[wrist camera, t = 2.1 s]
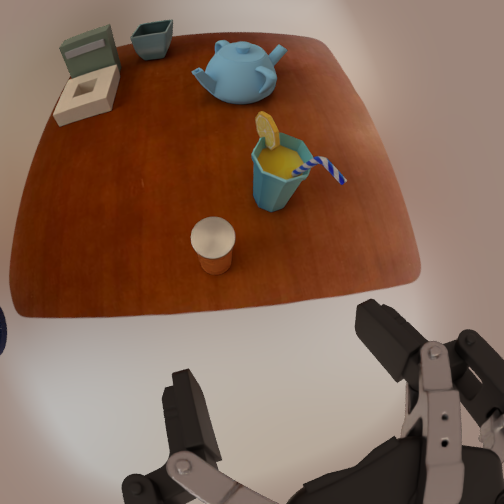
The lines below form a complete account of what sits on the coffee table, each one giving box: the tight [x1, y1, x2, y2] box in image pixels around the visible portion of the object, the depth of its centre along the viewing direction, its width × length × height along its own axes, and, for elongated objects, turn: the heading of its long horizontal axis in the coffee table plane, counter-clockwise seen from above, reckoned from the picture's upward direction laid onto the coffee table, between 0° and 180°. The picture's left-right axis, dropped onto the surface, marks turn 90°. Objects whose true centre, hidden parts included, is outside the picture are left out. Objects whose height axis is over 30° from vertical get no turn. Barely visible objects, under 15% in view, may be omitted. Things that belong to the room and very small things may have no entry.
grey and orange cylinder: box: [191, 217, 235, 275], centre depth 33 cm, size 5×5×9 cm
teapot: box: [192, 40, 288, 104], centre depth 44 cm, size 15×17×11 cm
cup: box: [252, 111, 347, 212], centre depth 34 cm, size 14×8×15 cm, turn 46°
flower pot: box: [131, 20, 173, 60], centre depth 47 cm, size 9×9×9 cm
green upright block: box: [59, 24, 121, 79], centre depth 42 cm, size 12×4×14 cm, turn 100°
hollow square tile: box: [53, 65, 120, 126], centre depth 44 cm, size 13×13×4 cm
